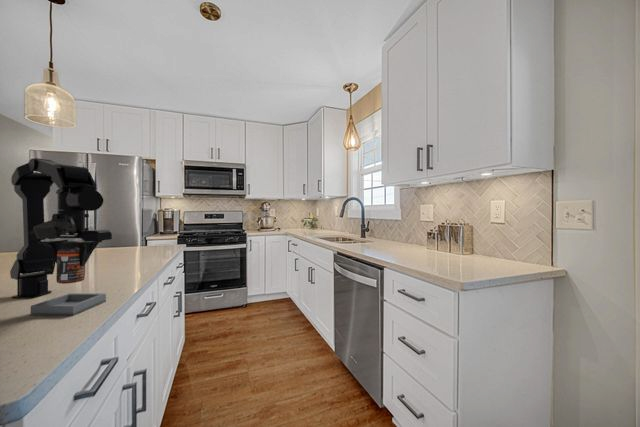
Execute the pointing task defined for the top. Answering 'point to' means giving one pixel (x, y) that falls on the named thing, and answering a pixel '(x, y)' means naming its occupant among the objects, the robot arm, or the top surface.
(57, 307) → the tray
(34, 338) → the top surface
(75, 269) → the supplement bottle
